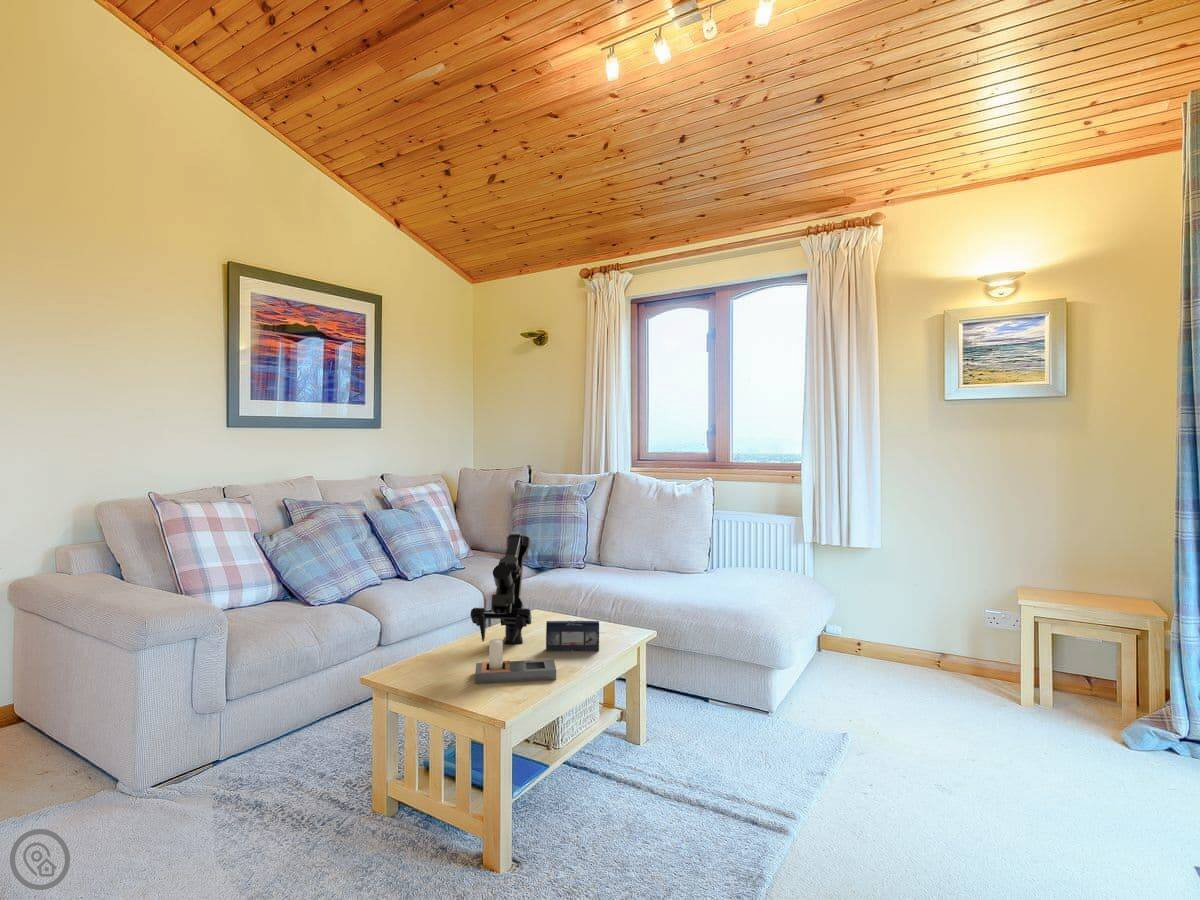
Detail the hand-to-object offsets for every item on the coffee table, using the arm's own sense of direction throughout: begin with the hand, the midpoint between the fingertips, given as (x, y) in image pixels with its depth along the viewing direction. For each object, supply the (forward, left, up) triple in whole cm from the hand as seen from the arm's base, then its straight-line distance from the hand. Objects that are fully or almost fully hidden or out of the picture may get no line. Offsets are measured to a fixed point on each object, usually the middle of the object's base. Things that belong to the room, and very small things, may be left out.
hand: (497, 641), depth 187 cm
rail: (+3, +6, -10) cm, 12 cm away
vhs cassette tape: (-18, +26, -10) cm, 33 cm away
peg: (+3, 0, -10) cm, 10 cm away
